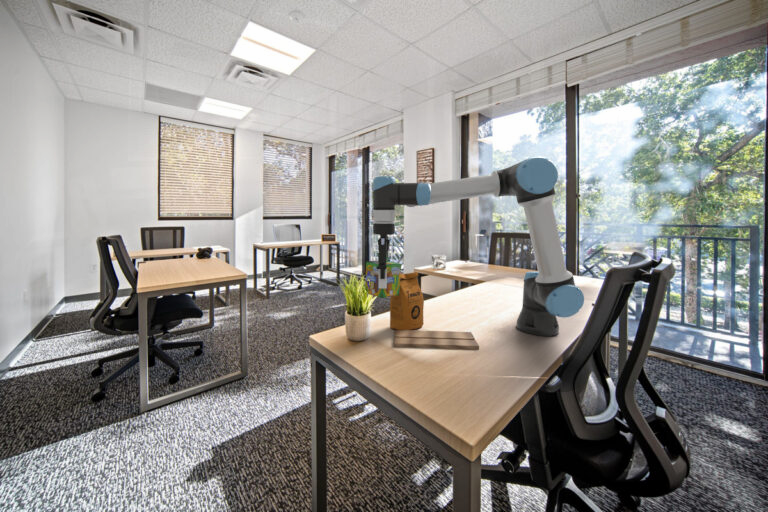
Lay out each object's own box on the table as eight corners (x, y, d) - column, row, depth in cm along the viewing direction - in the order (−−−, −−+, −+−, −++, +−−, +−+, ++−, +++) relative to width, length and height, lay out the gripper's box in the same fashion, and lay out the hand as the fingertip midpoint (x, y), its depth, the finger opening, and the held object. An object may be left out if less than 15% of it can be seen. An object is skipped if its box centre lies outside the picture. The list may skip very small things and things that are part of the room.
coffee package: (427, 328, 124) (428, 273, 122) (402, 335, 117) (403, 276, 114) (410, 322, 132) (411, 269, 130) (386, 327, 125) (387, 272, 122)
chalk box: (382, 299, 106) (384, 255, 104) (363, 293, 112) (365, 251, 110) (400, 295, 112) (403, 253, 110) (382, 289, 119) (384, 250, 117)
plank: (470, 335, 117) (471, 332, 117) (474, 342, 111) (474, 338, 111) (394, 332, 118) (395, 329, 118) (394, 339, 112) (394, 336, 112)
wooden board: (470, 336, 117) (471, 332, 117) (479, 350, 105) (479, 346, 105) (394, 334, 118) (395, 330, 118) (394, 347, 106) (394, 343, 106)
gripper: (375, 222, 121) (375, 277, 124) (369, 223, 97) (369, 292, 100) (395, 222, 121) (394, 277, 124) (394, 223, 97) (393, 292, 99)
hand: (383, 284), depth 112 cm, fingers closed on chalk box, 12 cm apart
